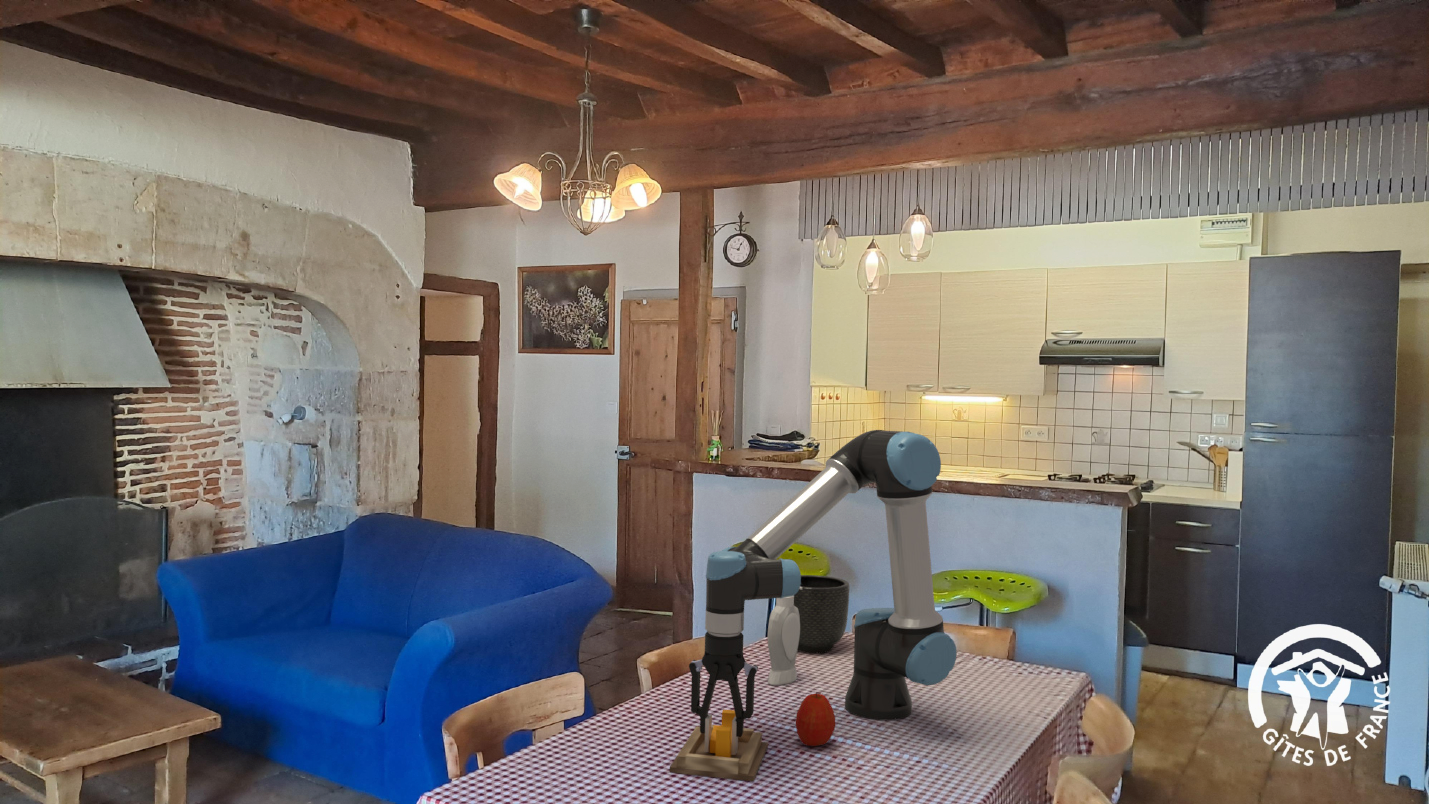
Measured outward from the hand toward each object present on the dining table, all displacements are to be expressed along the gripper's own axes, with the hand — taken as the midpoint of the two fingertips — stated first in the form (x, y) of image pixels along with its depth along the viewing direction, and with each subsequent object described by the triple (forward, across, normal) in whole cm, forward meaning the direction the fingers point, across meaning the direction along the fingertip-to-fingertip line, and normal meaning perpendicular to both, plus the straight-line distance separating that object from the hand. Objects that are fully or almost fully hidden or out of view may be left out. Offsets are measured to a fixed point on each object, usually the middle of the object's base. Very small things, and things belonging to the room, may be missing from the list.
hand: (721, 750), depth 189 cm
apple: (+2, -17, -14) cm, 22 cm away
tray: (+2, 0, 0) cm, 2 cm away
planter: (+2, -9, -88) cm, 89 cm away
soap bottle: (+2, -6, -54) cm, 55 cm away
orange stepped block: (+1, 0, 0) cm, 1 cm away
